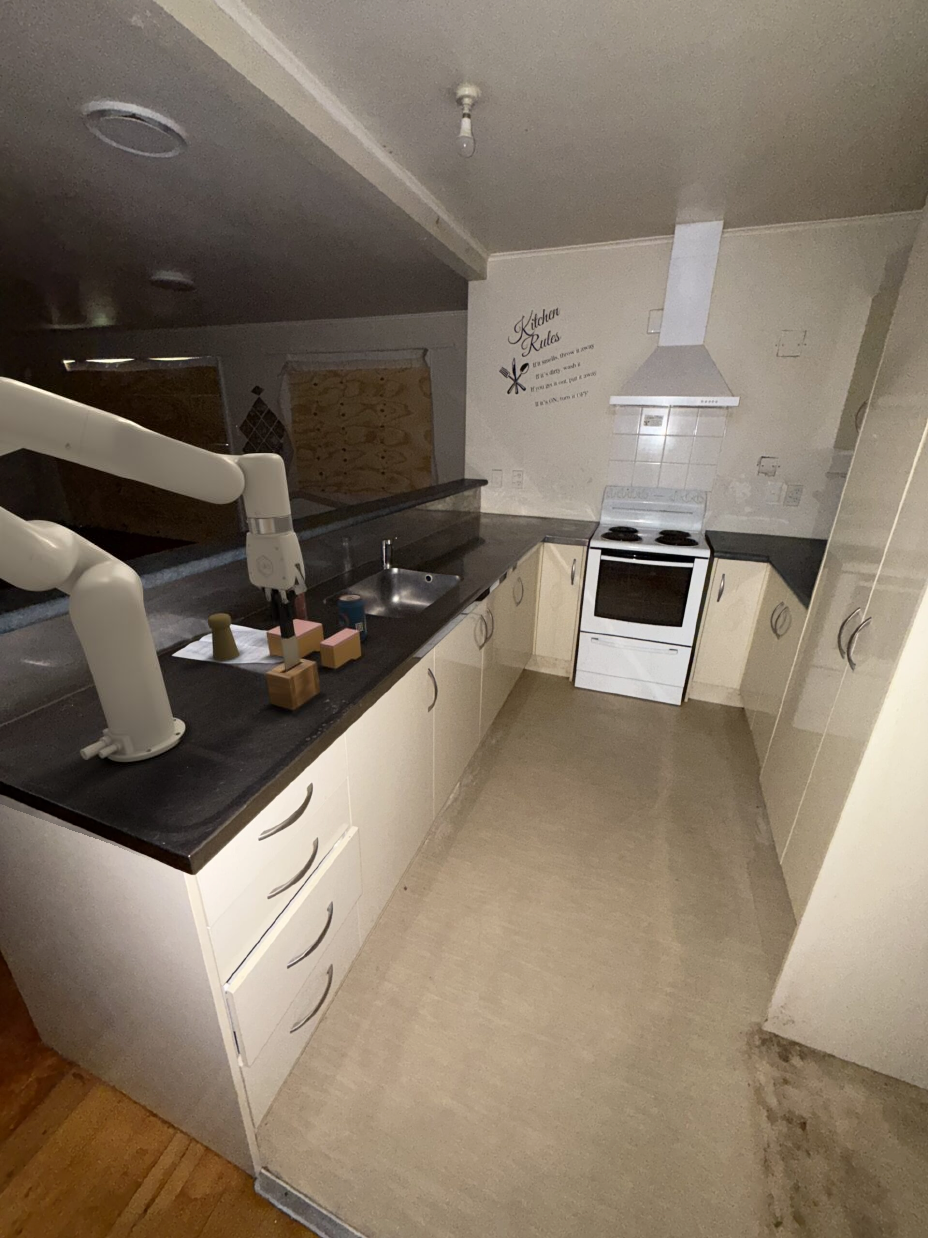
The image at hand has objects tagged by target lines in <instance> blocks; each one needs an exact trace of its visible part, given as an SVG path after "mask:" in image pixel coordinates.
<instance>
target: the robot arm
mask: <svg viewBox="0 0 928 1238" xmlns="http://www.w3.org/2000/svg"><path fill="white" fill-rule="evenodd" d="M21 449H26V450H30V451H34V452H36V453H40V454H43V455H48V456H51V457H55V458H58V459H60V460H61V459H62V460H65V461H69V462H71V463H74V464H75V463H76V464H79V465H81V466H85V467H88V468H92V469H94V470H99V471H102V472H105V473H108V474H111V475H113V476H117V477H120V478H125V479H130V480H132V481H137V482H140V483H144V484H147V485H149V486H153V487H156V488H159V489H163V490H167V491H170V492H173V493H176V494H179V495H184V496H187V497H190V498H193V499H197V500H199V501H203V502H207V503H211V504H215V505H225V504H226V505H227V504H230V503H232V502H234V501H236V500H238V498H240V496H241V495H242V498H243V504H244V509H245V515H246V523H247V526H248V532H246V541H245V547H246V549H245V550H246V551H245V552H246V564H247V571H248V578H249V581H250V583H251V584H253V586H255V587H256V588H258V589H259V590H261V591H262V593H264V595H265V598H266V600H267V601H268V602H269V606H270V611H271V618H272V621H273V622H279V620H278V614H277V608H276V602H275V595H274V594H277V593H279V592H281V597H282V602H283V603H281V604H280V607H281V614H282V620H283V623H288V622H290V621H292V620H294V619H296V618H297V614H296V607H295V600H296V599H297V596H298V595H299V594H301V593H303V592H304V593H306V592H307V591H308V588H307V586H306V583H305V582H306V573H305V572H306V571H305V565H304V559H303V553H302V551H301V546H300V543H299V540H298V539H299V538H298V537H297V534H296V532H295V531H294V525H293V524H294V523H293V518H292V509H291V503H290V497H289V488H288V483H287V482H288V480H287V474H286V467H285V462H284V459H283V457H282V456H281V455H279V454H277V453H270V452H269V453H267V452H265V453H262V452H261V453H246V454H242V455H237V454H236V455H234V454H224V453H223V454H222V453H215V452H212V451H209V450H207V449H205V448H204V449H203V448H201V447H197V446H195V445H192V444H189V443H186V442H183V441H180V440H178V439H175V438H171V437H170V436H166V435H163V434H161V433H159V432H155V431H153V430H150V429H148V428H146V427H143V426H141V425H140V424H138V423H136V422H134V421H132V420H129V419H127V418H124V417H122V416H119V415H116V414H114V413H111V412H108V411H105V410H102V409H99V408H97V407H94V406H90V405H87V404H85V403H82V402H79V401H76V400H74V399H70V398H67V397H65V396H62V395H59V394H56V393H53V392H50V391H47V390H44V389H42V388H40V387H39V388H38V387H36V386H33V385H30V384H27V383H25V382H22V381H19V380H16V379H12V378H10V377H4V376H0V457H2V456H4V455H7V454H10V453H13V452H15V451H18V450H21ZM0 579H1V580H3V581H5V582H6V583H8V584H11V585H13V586H15V587H16V588H20V589H23V590H26V591H31V592H45V591H50V590H52V589H57V590H59V591H61V592H62V593H65V594H67V595H69V598H68V613H69V618H70V621H71V624H72V626H73V628H74V629H73V630H74V631H75V634H76V635H77V638H78V640H79V642H80V645H81V647H82V649H83V652H84V655H85V659H86V661H87V664H88V667H89V671H90V674H91V676H92V679H93V683H94V686H95V689H96V692H97V695H98V699H99V702H100V705H101V708H102V711H103V715H104V717H105V720H106V724H107V727H106V728H104V729H102V734H103V736H102V737H100V738H99V739H98V741H97V742H95V743H91V744H90V745H87V746H86V747H84V748H81V749H80V750H79V753H80V756H81V757H82V759H84V761H85V760H86V761H87V760H89V759H92V758H93V757H96V756H97V755H98V756H99V757H100V758H101V759H104V758H107V759H109V760H111V761H113V762H121V763H128V762H130V763H131V762H138V761H143V760H147V759H150V758H153V757H156V756H159V755H160V754H163V753H165V752H167V751H168V750H170V749H172V748H173V747H175V746H177V745H178V744H179V743H180V742H181V741H182V739H180V738H181V737H182V736H183V735H184V733H185V731H186V724H185V722H184V721H183V720H181V719H180V718H177V717H173V713H172V709H171V704H170V700H169V697H168V692H167V689H166V685H165V681H164V677H163V673H162V668H161V666H160V662H159V657H158V654H157V649H156V646H155V643H154V639H153V635H152V632H151V628H150V624H149V621H148V618H147V614H146V609H145V601H144V586H143V582H142V579H141V576H139V574H138V573H137V572H136V571H135V570H134V569H133V568H132V567H131V566H129V565H128V564H126V563H125V562H123V561H122V560H120V559H118V558H117V557H115V556H113V555H112V554H111V553H109V552H107V551H106V550H104V549H102V548H101V547H99V546H98V545H95V543H92V542H91V541H89V540H88V539H86V538H85V537H83V536H81V535H80V534H78V533H77V532H75V531H73V530H71V529H69V528H68V527H66V526H63V525H61V524H58V523H57V522H53V521H49V520H39V519H33V520H25V519H23V518H21V517H19V516H17V515H16V514H14V513H12V512H10V510H9V511H8V510H7V509H6V508H5V507H2V506H0ZM287 590H289V592H287Z"/></svg>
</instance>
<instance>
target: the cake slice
mask: <svg viewBox="0 0 928 1238" xmlns="http://www.w3.org/2000/svg"><path fill="white" fill-rule="evenodd" d="M319 644H320V651H319V652H320V661H321V667H326V668H330V669H335V670H336V669H337V668H340V667H341V666H342V665H344V664H346V663H347V662H348V661H350V660H358V658H361V657H362V649H361V647H362V646H361V642H360V635H359V631H358V630H352V629H347V628H346V629H344V630H342V631H340V630H339V631H338V632H336V633H335V634H333V635H331V636H329V637H328V638H326V639H324V641H322V642H320V643H319Z"/></svg>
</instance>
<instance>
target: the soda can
mask: <svg viewBox="0 0 928 1238" xmlns="http://www.w3.org/2000/svg"><path fill="white" fill-rule="evenodd" d="M337 611H338V622H339V632H340V631H342V630H344V629H346V628H347V629H352V630H358V631H359V635H360V643H361V642H363V641H364V640H365V639H366V637H367V635H368V631H367V630H368V629H367V619H366V606H365V601H364V599H363V598H362V595H361V594H358V593H346V594H342V595H340V596H339V598H338V602H337Z"/></svg>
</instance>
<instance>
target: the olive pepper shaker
mask: <svg viewBox="0 0 928 1238" xmlns="http://www.w3.org/2000/svg"><path fill="white" fill-rule="evenodd" d="M231 625H232V618H231V616H230V615H229V614H227V613H224V612H222V613H221V612H220V613H215V614H212V615H210V616H208V619H207V626H208V628H209V629H211V645H212V659H213V661H216V662H226V661H231V660H234V659H236V658H238V657H239V656H240V650H239V649H238V646H237V643H236V640H235V637H234V633H233V631H232V628H231Z"/></svg>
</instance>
